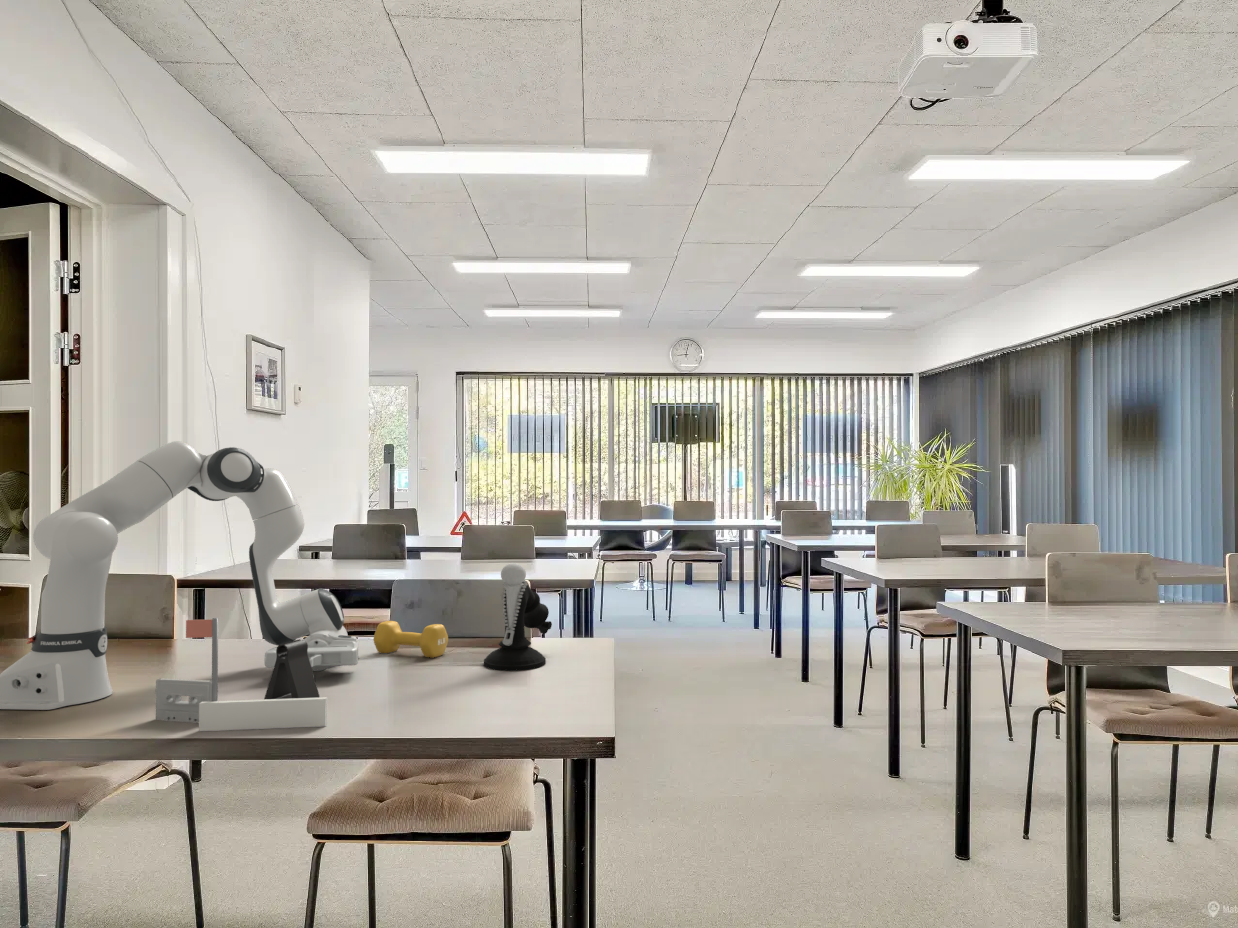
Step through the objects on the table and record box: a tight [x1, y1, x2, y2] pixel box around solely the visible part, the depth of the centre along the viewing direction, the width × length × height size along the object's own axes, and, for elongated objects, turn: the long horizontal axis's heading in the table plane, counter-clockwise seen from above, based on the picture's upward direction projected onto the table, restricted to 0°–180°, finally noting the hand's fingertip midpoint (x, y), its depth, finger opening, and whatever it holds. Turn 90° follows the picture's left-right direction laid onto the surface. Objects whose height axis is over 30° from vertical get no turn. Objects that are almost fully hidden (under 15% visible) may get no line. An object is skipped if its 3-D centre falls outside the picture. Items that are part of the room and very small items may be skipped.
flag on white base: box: [185, 617, 328, 732], centre depth 154 cm, size 25×14×20 cm, turn 98°
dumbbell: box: [373, 620, 449, 659], centre depth 212 cm, size 19×9×8 cm, turn 68°
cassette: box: [155, 677, 212, 724], centre depth 153 cm, size 12×2×8 cm, turn 80°
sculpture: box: [483, 562, 553, 672], centre depth 204 cm, size 15×24×25 cm, turn 157°
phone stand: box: [263, 638, 320, 700], centre depth 167 cm, size 9×6×12 cm, turn 72°
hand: (304, 663), depth 178 cm, fingers closed
